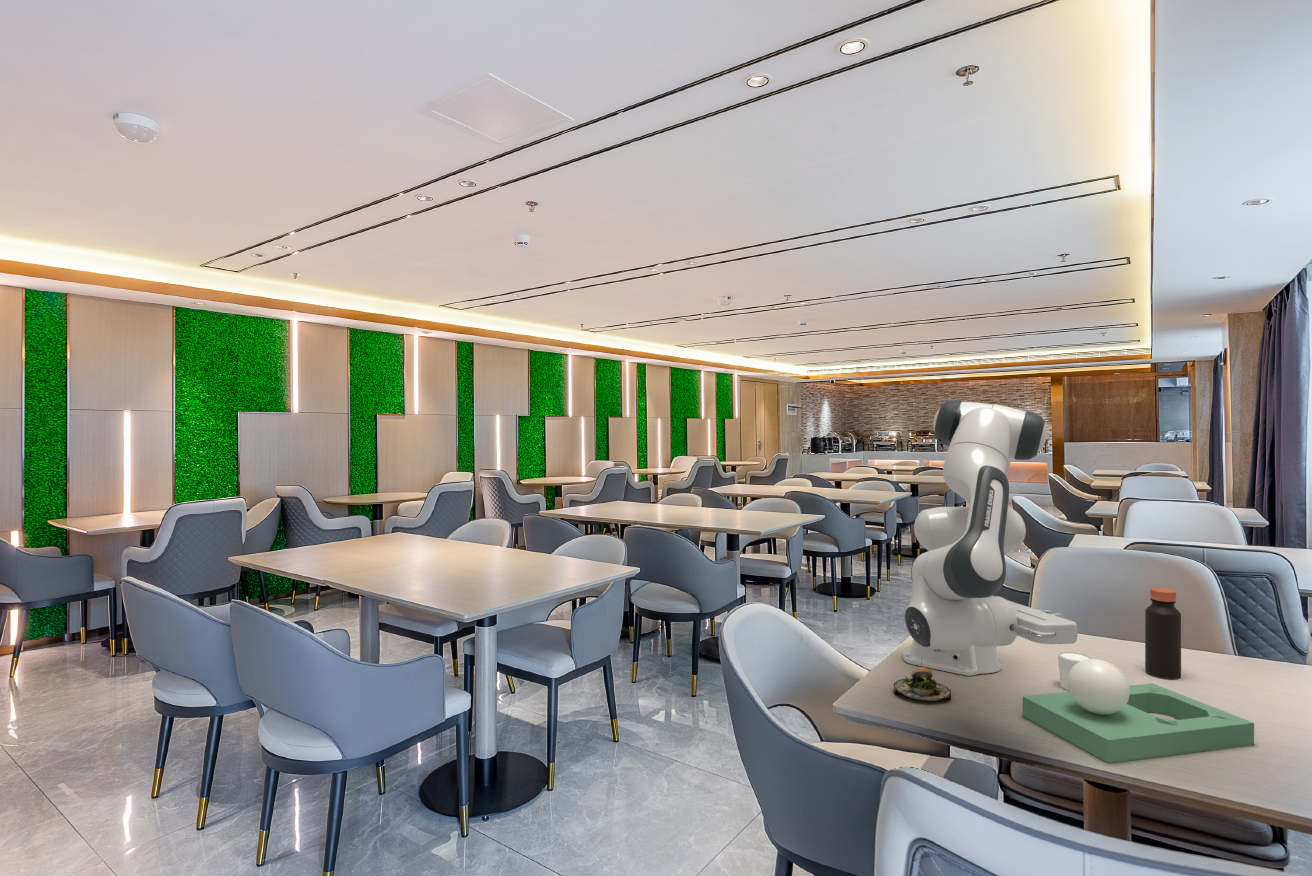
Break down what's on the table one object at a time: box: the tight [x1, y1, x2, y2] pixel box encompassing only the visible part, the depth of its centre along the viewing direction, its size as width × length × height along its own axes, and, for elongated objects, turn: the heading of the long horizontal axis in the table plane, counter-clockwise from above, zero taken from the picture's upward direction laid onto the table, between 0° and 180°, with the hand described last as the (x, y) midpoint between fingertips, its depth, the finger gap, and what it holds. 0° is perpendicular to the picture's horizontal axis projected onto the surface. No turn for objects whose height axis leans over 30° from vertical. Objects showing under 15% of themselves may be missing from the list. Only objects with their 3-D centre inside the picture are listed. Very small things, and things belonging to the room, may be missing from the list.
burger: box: [893, 658, 953, 702], centre depth 147 cm, size 12×12×8 cm
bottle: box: [1144, 587, 1182, 680], centre depth 159 cm, size 7×7×20 cm
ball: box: [1067, 658, 1130, 715], centre depth 128 cm, size 10×10×10 cm
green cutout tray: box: [1022, 682, 1255, 764], centre depth 130 cm, size 32×20×4 cm, turn 102°
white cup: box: [1057, 651, 1093, 691], centre depth 151 cm, size 7×7×7 cm
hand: (1057, 616), depth 126 cm, fingers closed
